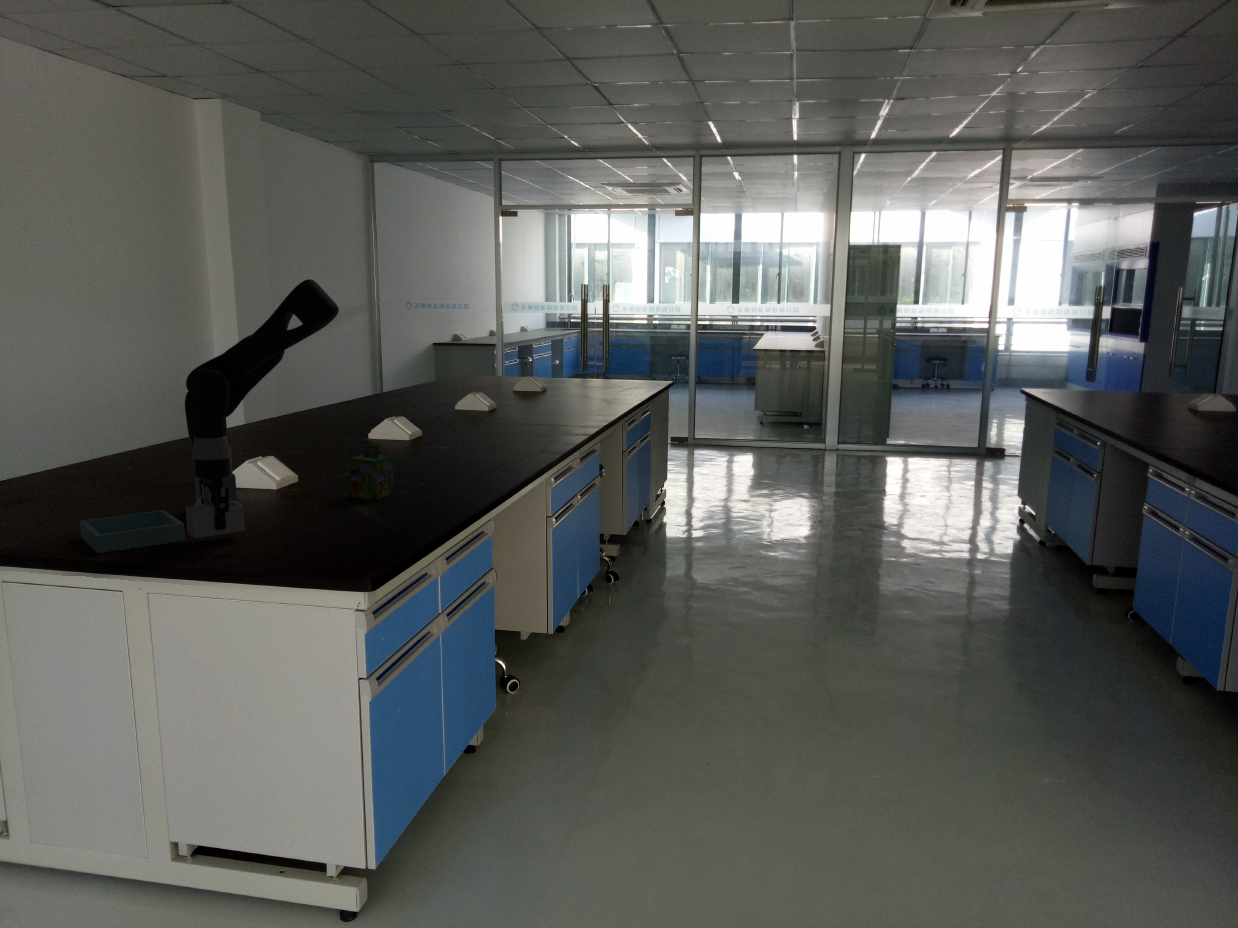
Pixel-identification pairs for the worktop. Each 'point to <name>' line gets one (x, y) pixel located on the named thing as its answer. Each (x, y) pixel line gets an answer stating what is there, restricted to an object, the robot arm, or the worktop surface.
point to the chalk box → (370, 475)
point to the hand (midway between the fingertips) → (215, 526)
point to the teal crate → (132, 531)
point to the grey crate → (204, 523)
